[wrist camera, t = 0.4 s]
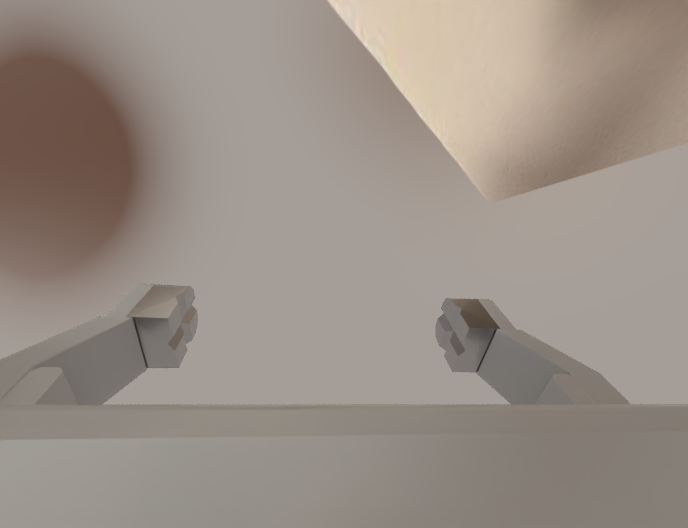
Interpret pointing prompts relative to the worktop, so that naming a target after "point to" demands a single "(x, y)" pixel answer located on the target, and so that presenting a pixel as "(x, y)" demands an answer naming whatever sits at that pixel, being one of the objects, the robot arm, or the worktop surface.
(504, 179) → the worktop surface
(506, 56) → the worktop surface
